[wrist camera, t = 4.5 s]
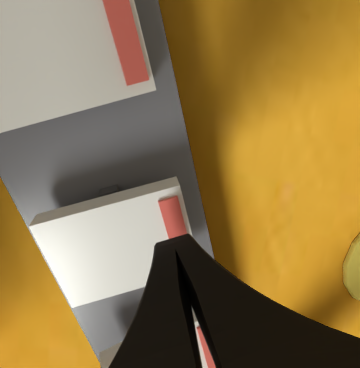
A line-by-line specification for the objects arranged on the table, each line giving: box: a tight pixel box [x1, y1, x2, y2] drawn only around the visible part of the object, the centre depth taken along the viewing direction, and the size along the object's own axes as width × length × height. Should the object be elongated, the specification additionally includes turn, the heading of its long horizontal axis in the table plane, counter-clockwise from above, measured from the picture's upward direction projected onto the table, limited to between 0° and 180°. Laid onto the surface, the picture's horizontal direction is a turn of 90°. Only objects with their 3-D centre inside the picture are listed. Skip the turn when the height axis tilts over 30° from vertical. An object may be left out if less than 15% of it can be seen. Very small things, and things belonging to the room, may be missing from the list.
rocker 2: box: [29, 176, 193, 308], centre depth 12 cm, size 6×4×1 cm
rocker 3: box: [99, 308, 216, 368], centre depth 15 cm, size 6×4×1 cm
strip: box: [0, 0, 214, 362], centre depth 15 cm, size 8×26×4 cm, turn 13°
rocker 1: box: [0, 0, 156, 133], centre depth 9 cm, size 6×4×1 cm
